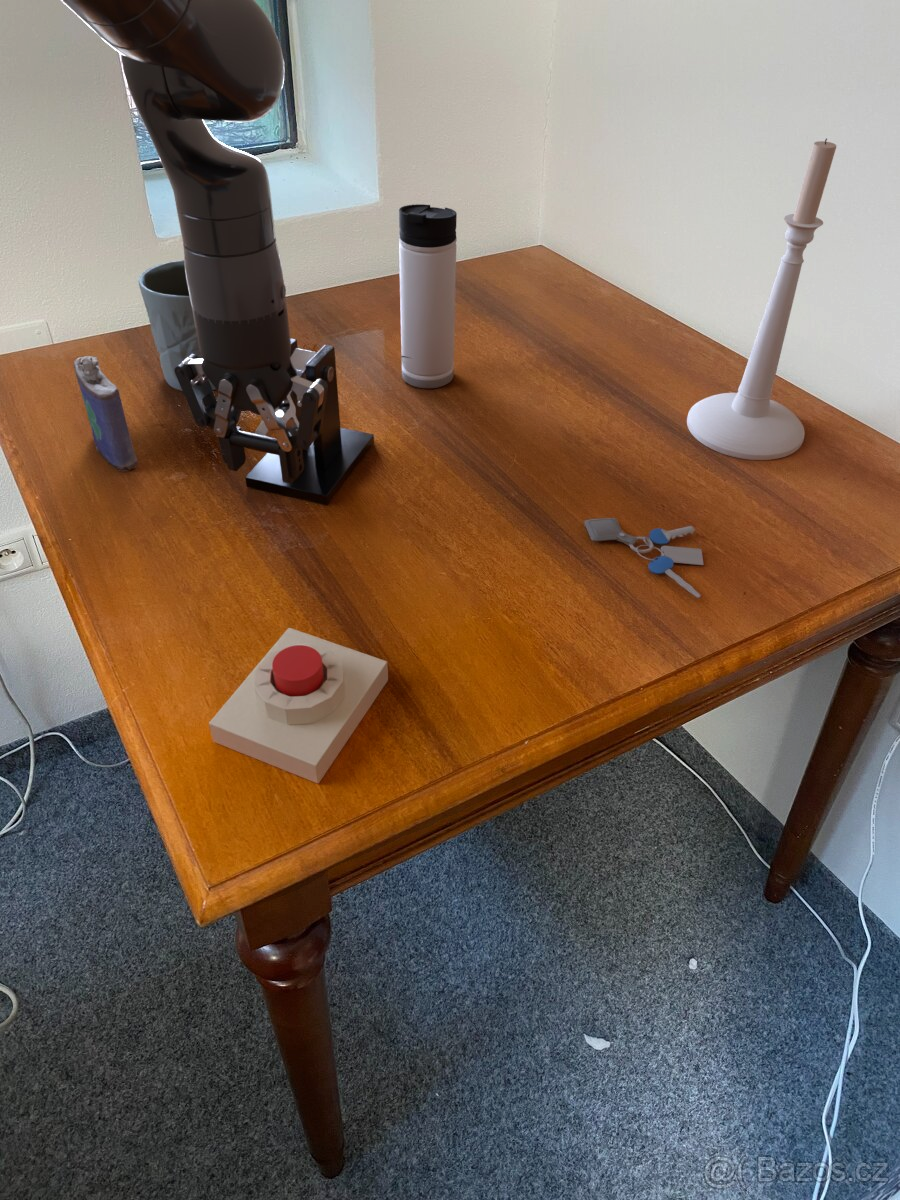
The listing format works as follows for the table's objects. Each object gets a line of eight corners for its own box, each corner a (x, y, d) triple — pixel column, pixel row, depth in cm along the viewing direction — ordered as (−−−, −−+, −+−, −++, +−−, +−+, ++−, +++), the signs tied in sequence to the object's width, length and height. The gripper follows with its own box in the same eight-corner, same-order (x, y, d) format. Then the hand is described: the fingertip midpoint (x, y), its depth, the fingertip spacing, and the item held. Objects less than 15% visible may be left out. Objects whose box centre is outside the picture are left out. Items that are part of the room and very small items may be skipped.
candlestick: (827, 440, 97) (934, 148, 77) (742, 472, 92) (832, 168, 72) (745, 389, 105) (822, 112, 85) (663, 416, 100) (723, 129, 80)
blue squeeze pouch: (141, 467, 91) (116, 373, 84) (113, 476, 90) (85, 381, 82) (113, 427, 96) (87, 336, 89) (87, 435, 95) (58, 343, 88)
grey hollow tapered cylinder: (157, 361, 108) (135, 264, 100) (240, 350, 110) (225, 254, 102) (164, 401, 101) (141, 300, 93) (252, 389, 103) (237, 289, 95)
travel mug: (392, 384, 105) (386, 211, 91) (414, 360, 109) (412, 191, 96) (440, 395, 103) (442, 220, 89) (461, 370, 107) (466, 200, 94)
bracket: (327, 505, 87) (316, 389, 78) (246, 487, 89) (227, 372, 80) (374, 443, 95) (369, 332, 86) (299, 428, 97) (286, 318, 88)
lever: (282, 462, 79) (276, 444, 77) (233, 452, 81) (226, 433, 79) (334, 373, 86) (329, 354, 84) (287, 364, 87) (282, 345, 85)
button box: (318, 784, 62) (313, 749, 60) (213, 742, 65) (203, 706, 62) (388, 680, 70) (387, 645, 67) (291, 645, 72) (286, 610, 70)
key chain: (571, 532, 84) (572, 525, 83) (622, 496, 88) (623, 490, 88) (696, 602, 77) (698, 595, 76) (745, 560, 81) (747, 553, 81)
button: (307, 703, 63) (305, 687, 62) (265, 687, 64) (262, 671, 63) (332, 670, 66) (331, 653, 64) (291, 655, 67) (288, 639, 65)
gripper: (134, 301, 69) (175, 478, 81) (298, 330, 66) (317, 511, 78) (185, 266, 75) (217, 437, 86) (339, 292, 71) (351, 466, 83)
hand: (264, 471), depth 82 cm, fingers closed on lever, 5 cm apart
